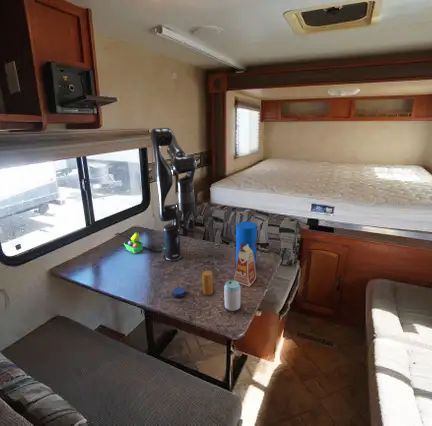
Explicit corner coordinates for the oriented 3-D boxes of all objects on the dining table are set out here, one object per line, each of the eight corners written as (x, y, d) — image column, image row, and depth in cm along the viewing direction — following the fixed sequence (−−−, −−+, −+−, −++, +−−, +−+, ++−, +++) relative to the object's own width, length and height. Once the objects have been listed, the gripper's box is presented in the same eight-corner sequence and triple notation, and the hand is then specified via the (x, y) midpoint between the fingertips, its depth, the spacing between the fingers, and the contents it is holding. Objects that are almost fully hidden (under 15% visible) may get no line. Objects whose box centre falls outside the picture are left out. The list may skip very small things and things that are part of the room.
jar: (200, 292, 137) (199, 273, 134) (207, 287, 141) (206, 268, 137) (208, 296, 134) (207, 277, 130) (215, 291, 138) (215, 272, 134)
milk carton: (249, 286, 140) (250, 250, 133) (232, 281, 145) (232, 246, 138) (256, 277, 147) (257, 243, 140) (240, 273, 152) (240, 239, 145)
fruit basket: (124, 250, 182) (121, 234, 178) (135, 245, 188) (133, 229, 185) (134, 255, 175) (132, 238, 171) (146, 250, 181) (144, 234, 178)
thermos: (233, 268, 157) (233, 227, 148) (240, 259, 165) (240, 220, 157) (252, 273, 152) (252, 230, 143) (258, 263, 161) (259, 223, 152)
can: (222, 309, 125) (222, 286, 120) (227, 300, 131) (227, 278, 127) (238, 313, 122) (238, 289, 118) (242, 303, 128) (242, 280, 124)
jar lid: (182, 298, 133) (182, 294, 133) (171, 296, 135) (171, 293, 134) (186, 291, 139) (186, 287, 138) (176, 289, 140) (175, 286, 139)
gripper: (184, 195, 138) (186, 226, 144) (173, 204, 125) (175, 237, 131) (198, 196, 136) (200, 227, 142) (189, 205, 123) (191, 239, 129)
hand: (188, 232), depth 136 cm, fingers open, 8 cm apart
